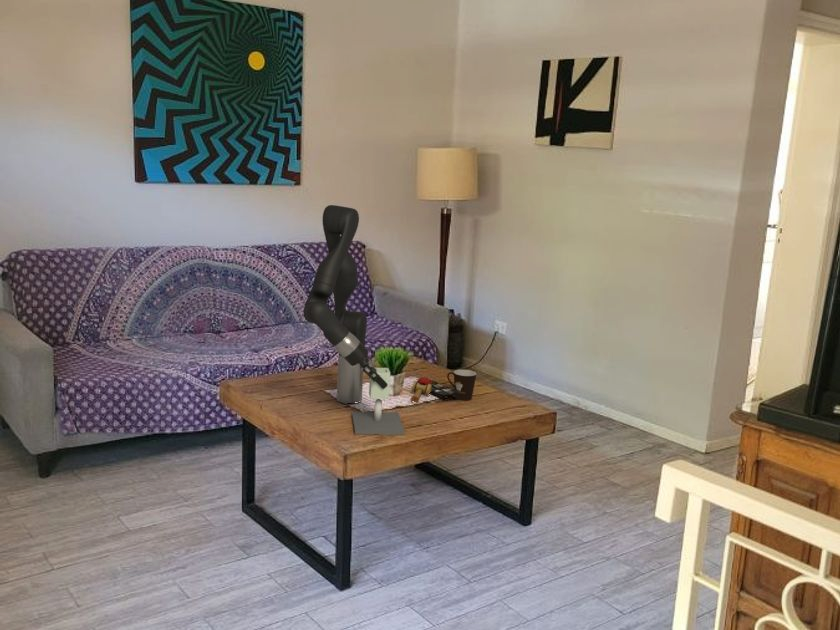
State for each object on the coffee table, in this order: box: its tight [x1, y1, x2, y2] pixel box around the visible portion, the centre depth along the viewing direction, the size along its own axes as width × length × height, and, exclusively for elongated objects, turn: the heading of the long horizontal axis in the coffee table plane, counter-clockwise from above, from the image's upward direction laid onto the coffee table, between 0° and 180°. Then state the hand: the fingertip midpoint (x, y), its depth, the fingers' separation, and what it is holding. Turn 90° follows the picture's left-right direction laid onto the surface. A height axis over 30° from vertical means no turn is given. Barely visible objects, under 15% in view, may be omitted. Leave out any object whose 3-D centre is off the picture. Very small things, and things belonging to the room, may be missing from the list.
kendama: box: [410, 376, 433, 403], centre depth 302 cm, size 8×6×18 cm
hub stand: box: [351, 399, 405, 436], centre depth 268 cm, size 18×16×9 cm
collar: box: [368, 367, 391, 400], centre depth 265 cm, size 6×6×9 cm
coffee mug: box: [446, 369, 477, 402], centre depth 304 cm, size 12×9×10 cm
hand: (384, 383), depth 266 cm, fingers closed on collar, 6 cm apart
